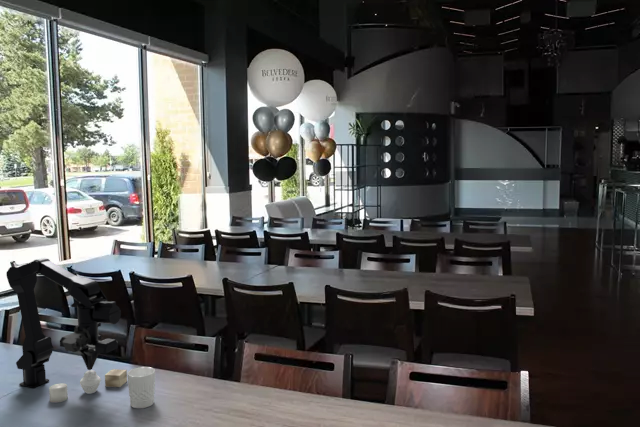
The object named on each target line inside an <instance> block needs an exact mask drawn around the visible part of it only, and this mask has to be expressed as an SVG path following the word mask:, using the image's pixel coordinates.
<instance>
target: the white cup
mask: <svg viewBox="0 0 640 427" xmlns="http://www.w3.org/2000/svg"><path fill="white" fill-rule="evenodd" d="M155 382H156V369H155V368H153V367H150V366H141V367H135V368H132V369H130V370H128V371H127V384H128V395H129V396H128V397H129V402H130V407H132V408H134V409H144V408H149V407H151V406H152V405H154V401H155V392H156V390H155V389H156V388H155V386H156V383H155Z"/></svg>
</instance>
